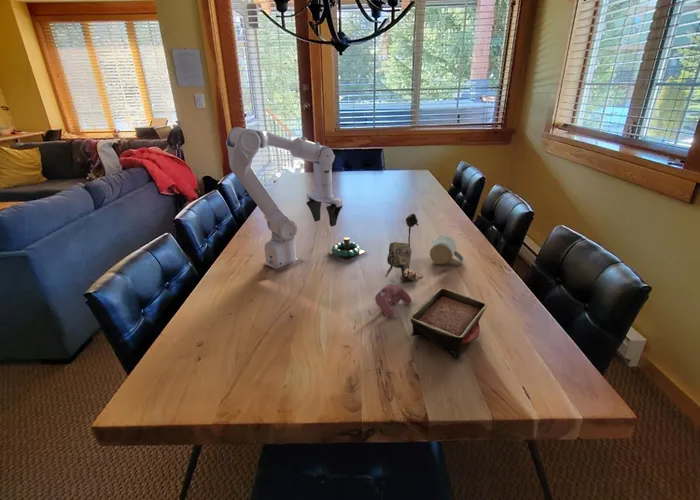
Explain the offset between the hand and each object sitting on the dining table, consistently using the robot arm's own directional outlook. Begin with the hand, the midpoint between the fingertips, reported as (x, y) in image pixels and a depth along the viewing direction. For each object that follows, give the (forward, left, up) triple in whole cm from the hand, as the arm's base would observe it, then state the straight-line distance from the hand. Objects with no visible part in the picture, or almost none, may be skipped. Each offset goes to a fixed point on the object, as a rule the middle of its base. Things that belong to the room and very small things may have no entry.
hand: (325, 223), depth 126 cm
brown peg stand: (+2, -8, -10) cm, 13 cm away
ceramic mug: (+19, -36, -11) cm, 42 cm away
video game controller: (-15, -39, -11) cm, 43 cm away
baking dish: (-17, -55, -11) cm, 59 cm away
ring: (+2, -8, -8) cm, 11 cm away
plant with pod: (-1, -33, -11) cm, 35 cm away
